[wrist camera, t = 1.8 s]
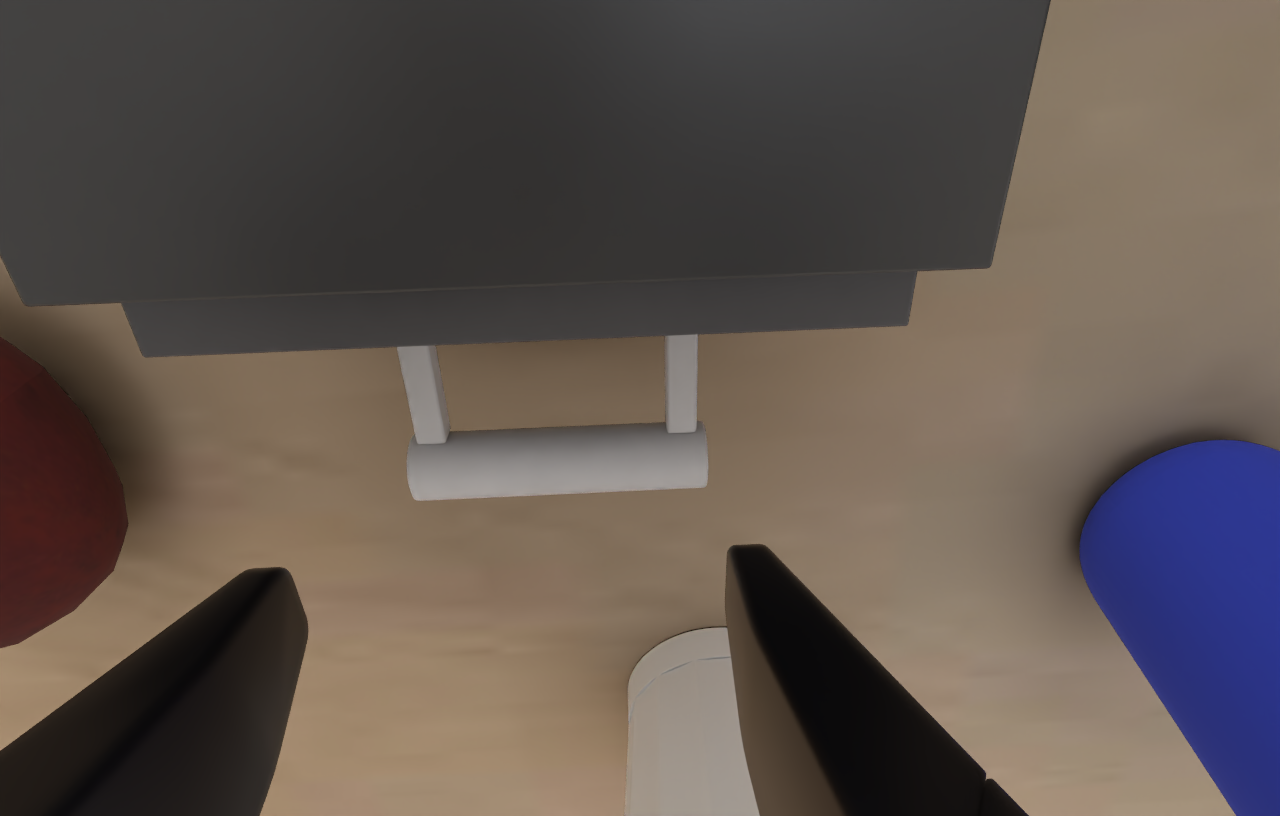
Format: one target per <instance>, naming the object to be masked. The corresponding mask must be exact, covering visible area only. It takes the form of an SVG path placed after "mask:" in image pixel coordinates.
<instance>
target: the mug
mask: <svg viewBox="0 0 1280 816" xmlns="http://www.w3.org/2000/svg"><path fill="white" fill-rule="evenodd" d="M1080 562H1081V568H1082V571H1083V575H1084V578H1085V580H1086V583H1087V585H1088V587H1089V589H1090V591H1091V593H1092V595H1093V597H1094V599H1095V600H1096V602H1097V603H1098V605H1099V606H1100V608H1101V610H1102V611H1103V613H1104V614H1105V616H1106V617H1107V619H1108V620H1109V622H1110V623H1111V625H1112V626H1113V628H1114V629H1115V631H1116V632H1117V634H1118V636H1119V637H1120V639H1121V640H1122V642H1123V643H1124V645H1125V646H1126V648H1127V649H1128V651H1129V652H1130V654H1131V655H1132V657H1133V658H1134V660H1135V662H1136V663H1137V665H1138V666H1139V668H1140V669H1141V671H1142V672H1143V674H1144V675H1145V677H1146V678H1147V680H1148V681H1149V683H1150V684H1151V686H1152V688H1153V689H1154V691H1155V692H1156V694H1157V695H1158V697H1159V698H1160V700H1161V701H1162V703H1163V704H1164V706H1165V707H1166V709H1167V710H1168V712H1169V714H1170V715H1171V717H1172V718H1173V720H1174V721H1175V723H1176V724H1177V726H1178V727H1179V729H1180V730H1181V732H1182V733H1183V735H1184V736H1185V738H1186V740H1187V741H1188V743H1189V744H1190V746H1191V747H1192V749H1193V750H1194V752H1195V753H1196V755H1197V756H1198V758H1199V759H1200V761H1201V762H1202V764H1203V766H1204V767H1205V769H1206V770H1207V772H1208V773H1209V775H1210V776H1211V778H1212V779H1213V781H1214V782H1215V784H1216V785H1217V787H1218V788H1219V790H1220V792H1221V793H1222V795H1223V796H1224V798H1225V799H1226V801H1227V802H1228V804H1229V805H1230V807H1231V808H1232V810H1233V811H1234V813H1235V814H1236V816H1280V451H1278V450H1275V449H1273V448H1269V447H1266V446H1263V445H1260V444H1255V443H1250V442H1245V441H1237V440H1210V441H1203V442H1195V443H1191V444H1187V445H1183V446H1180V447H1176V448H1173V449H1170V450H1168V451H1165V452H1163V453H1160V454H1158V455H1155V456H1153V457H1151V458H1150V459H1148V460H1146V461H1144V462H1142V463H1141V464H1139V465H1137V466H1135V467H1134V468H1133V469H1131V470H1130V471H1128V472H1127V473H1126V474H1124V475H1123V476H1122V477H1120V478H1119V479H1118V480H1117V481H1116V482H1114V483H1113V484H1112V485H1111V486H1110V488H1109V489H1108V490H1107V491H1106V492H1105V493H1104V494H1103V495H1102V496H1101V497H1100V499H1099V500H1098V501H1097V503H1096V504H1095V506H1094V507H1093V508H1092V510H1091V512H1090V514H1089V516H1088V518H1087V520H1086V522H1085V524H1084V527H1083V530H1082V534H1081V539H1080Z"/></svg>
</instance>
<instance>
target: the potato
mask: <svg viewBox="0 0 1280 816" xmlns="http://www.w3.org/2000/svg"><path fill="white" fill-rule="evenodd" d="M127 527H128V518H127V512H126V506H125V500H124V493H123V487H122V484H121V482H120V479H119V477H118V474H117V472H116V469H115V467H114V465H113V464H112V462H111V460H110V458H109V456H108V455H107V453H106V451H105V449H104V447H103V446H102V444H101V442H100V440H99V438H98V437H97V435H96V433H95V431H94V429H93V428H92V426H91V424H90V422H89V420H88V419H87V417H86V416H85V415H84V414H83V413H82V412H81V410H80V409H79V408H78V407H77V406H76V405H75V403H74V402H73V401H72V400H71V399H70V398H69V397H68V395H67V394H66V393H65V392H64V391H63V390H62V388H61V387H60V386H59V385H58V384H57V383H56V381H55V380H54V379H53V378H52V377H51V376H50V375H49V373H48V372H47V371H46V370H45V369H44V368H43V366H41V365H40V364H38V363H37V362H36V361H34V360H33V359H31V358H30V357H28V356H27V355H26V354H24V353H23V352H21V351H20V350H19V349H17V348H16V347H14V346H13V345H12V344H10V343H9V342H7V341H6V340H4V339H3V338H2V337H0V648H3V647H7V646H11V645H15V644H18V643H20V642H22V641H23V640H25V639H27V638H29V637H30V636H32V635H34V634H35V633H37V632H39V631H40V630H42V629H44V628H45V627H47V626H49V625H50V624H52V623H54V622H56V621H57V620H59V619H61V618H62V617H64V616H66V615H67V614H69V613H71V612H72V611H74V610H75V609H76V608H77V607H78V606H79V605H80V604H81V603H82V602H83V601H84V600H85V599H86V598H87V597H88V596H89V595H90V594H91V593H92V592H93V591H94V590H95V589H96V588H97V587H98V586H99V585H100V584H101V583H102V582H103V581H104V580H105V579H106V578H107V577H108V576H109V575H110V574H111V573H112V572H113V571H114V568H115V565H116V562H117V559H118V557H119V554H120V551H121V548H122V545H123V542H124V538H125V534H126V531H127Z"/></svg>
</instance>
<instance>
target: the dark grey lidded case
mask: <svg viewBox="0 0 1280 816" xmlns="http://www.w3.org/2000/svg"><path fill="white" fill-rule="evenodd" d="M1050 1H1051V0H0V256H1V258H2V260H3V262H4V265H5V267H6V269H7V271H8V273H9V275H10V277H11V279H12V281H13V283H14V285H15V287H16V290H17V292H18V294H19V296H20V298H21V300H22V302H23V304H24V305H25V306H55V305H80V304H105V303H130V302H155V301H180V300H205V299H231V298H256V297H281V296H306V295H331V294H356V293H382V292H407V291H432V290H457V289H482V288H507V287H532V286H558V285H583V284H608V283H633V282H658V281H683V280H709V279H734V278H759V277H784V276H809V275H834V274H859V273H885V272H910V271H935V270H960V269H985V268H989V267H990V266H991V264H992V260H993V256H994V251H995V247H996V242H997V238H998V233H999V229H1000V224H1001V220H1002V215H1003V211H1004V206H1005V202H1006V197H1007V193H1008V188H1009V184H1010V180H1011V175H1012V171H1013V166H1014V162H1015V157H1016V153H1017V148H1018V144H1019V139H1020V135H1021V130H1022V126H1023V121H1024V117H1025V112H1026V108H1027V104H1028V99H1029V95H1030V90H1031V86H1032V81H1033V77H1034V72H1035V68H1036V63H1037V59H1038V54H1039V50H1040V45H1041V41H1042V37H1043V32H1044V28H1045V23H1046V19H1047V14H1048V10H1049V5H1050Z"/></svg>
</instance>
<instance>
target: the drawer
mask: <svg viewBox="0 0 1280 816" xmlns="http://www.w3.org/2000/svg"><path fill="white" fill-rule="evenodd" d="M916 276H917V271H910V272H885V273H859V274H834V275H809V276H784V277H759V278H734V279H709V280H683V281H658V282H633V283H608V284H583V285H558V286H532V287H507V288H482V289H457V290H432V291H407V292H382V293H356V294H331V295H306V296H281V297H256V298H231V299H205V300H180V301H155V302H130V303H121V304H122V307H123V309H124V311H125V314H126V316H127V319H128V321H129V324H130V326H131V329H132V331H133V334H134V336H135V338H136V341H137V343H138V346H139V348H140V351H141V353H142V355H143V356H144V357H168V356H192V355H216V354H240V353H264V352H288V351H312V350H336V349H361V348H385V347H397V352H398V357H399V361H400V366H401V371H402V375H403V380H404V385H405V390H406V394H407V399H408V404H409V408H410V413H411V418H412V422H413V427H414V432H415V434H414V435H413V436H412V437H411V439H410V442H409V446H408V452H407V478H408V484H409V488H410V491H411V494H412V496H413V498H414V499H415V500H417V501H427V500H449V499H470V498H492V497H513V496H535V495H556V494H578V493H599V492H621V491H642V490H664V489H685V488H704V487H706V485H707V481H708V448H707V437H706V430H705V426H704V423H703V421H697V367H698V334H722V333H746V332H770V331H794V330H818V329H842V328H866V327H890V326H906V325H908V322H909V316H910V311H911V305H912V299H913V293H914V287H915V281H916ZM650 336H664V351H665V421H666V422H657V423H634V424H612V425H589V426H567V427H544V428H521V429H499V430H476V431H454V432H450V429H451V427H450V421H449V416H448V410H447V405H446V399H445V394H444V388H443V383H442V377H441V372H440V366H439V361H438V356H437V350H436V345H457V344H481V343H505V342H529V341H553V340H577V339H601V338H625V337H650Z"/></svg>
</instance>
